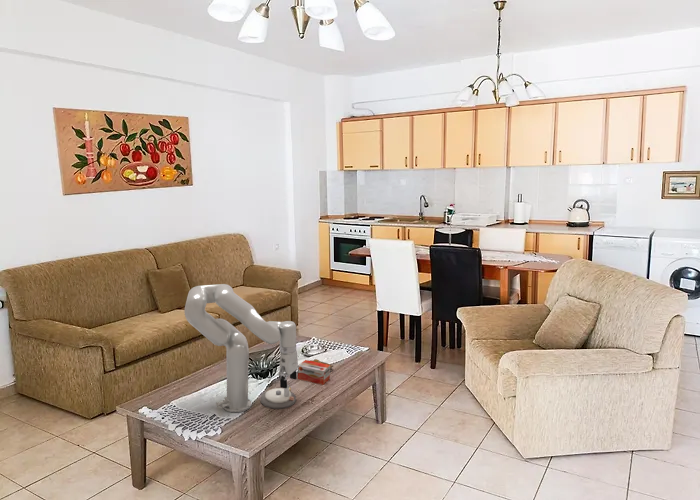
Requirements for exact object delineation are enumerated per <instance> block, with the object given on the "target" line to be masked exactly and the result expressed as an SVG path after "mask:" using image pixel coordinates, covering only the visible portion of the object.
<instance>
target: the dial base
mask: <svg viewBox="0 0 700 500" xmlns="http://www.w3.org/2000/svg"><path fill="white" fill-rule="evenodd" d="M289 391H290V392H291V396H292V397H294V400H293V401H292V400H289V401H287V402H284V403H272V402H269V401H267V400H266V398H265V394H266V392H267V391H266V392H263V393H262V395H261V396H260V404H261V405H262V406H263V407H265V408H268V409H273V410H281V409H282V410H283V409H288V408H289V407H292V406H294V405H295V404H296V401H297V396H296V394H295V393H294V392H292V387H290V386H289Z"/></svg>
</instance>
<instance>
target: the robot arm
mask: <svg viewBox="0 0 700 500" xmlns="http://www.w3.org/2000/svg"><path fill="white" fill-rule="evenodd" d="M214 303H215V304H216V305H217V306H218V307H219V308H221V309H222V310H223V311H225V312H226V313H228V314H229V315H231V316H232V317H234V318H235V319H236V320H238V321H239V322H240V323H241V324H242V325H243V326H244V327H245V328H246V329H248V331H249V332H250V333H252V334H253V335H255V336H256V337H257V338H258V339H260V340H261V341H262V342H265V343H266V344H268V345H275V344H277V343H278V342H279V353H280V355H279V371H278V379H279V381H280V382H279V386H280V387H279V388H283V389H284V388H287V385H288V379H287V377H288V376H289V379H290V380H298V377H297V371H298V365H299V361H298V351H297V325H296V323H295V322H294V321H291V320H286V321H276V320H275V321H273V320H269V321H266V320H265V319H264V318H262V316H261V315H260V314H259V313H258V312H257V310H256V309H255V307H254V306H253V304H251V303H249V302H247V301H246V300H245V299H244V298H242V297H241V296H239V295H238V294H237V293H235V291H234V289H233V287H232V286H231V285H229V284H227V283H221V284H219V283H218V284H204V285H203V284H202V285H196V286H194V287H191V289H190V290H189V291H188V294H187V297H186V301H185V304H184V312H183V313H184V317H185V319H186V321H187V322H188V323H189V325H191V326H192V327H193V328H195V330H197V331H198V332H199V333H200V334H201V335H203V336H204V337H205V338H206V339H207V340H208V341H209V342H211V343H212V344H213V345H214V346H218V347H222V346H224V347H225V349H226V355H225V356H226V396H225V397H224V399H222V401H218V402H216V403H215V404H216V407H221V408H222V409H224V410H225V411H227V412H229V413H243V412H246V411H249V410H250V408H251V407H252V405H253V404H252V401H251V399H249V360H250V359H249V357H250V351H249V344H248V339H247V337H246V336H245V335H244V333H242V332H241V331H240V330H238V329H237V328H236V327H235V326H234V325H233V324H231V322H229V321H228V320H226V319H224V318H215V317H214V316H213V315H211V313H208V312H207V310H206V307H207V304H214Z"/></svg>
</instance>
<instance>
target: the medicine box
mask: <svg viewBox="0 0 700 500" xmlns="http://www.w3.org/2000/svg"><path fill="white" fill-rule="evenodd" d="M330 365H331V364H330ZM330 365H327V364H323V363H318V362H313V361H310V360H309V359H307V360H306V359H305V360H303V361H302V362H300V363H298V368H297V371H296V372H297V380H299V381H304V382H309V383H313V384H317V385H320V386H324V385H325V384H326V383H327V382H328V381H330V378H331V370H330Z"/></svg>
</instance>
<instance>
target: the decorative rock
mask: <svg viewBox="0 0 700 500" xmlns="http://www.w3.org/2000/svg"><path fill="white" fill-rule="evenodd" d="M309 361H313V362H318V363H323V364H327V365H330V371H332V369H333V367H334V365H332V364H331V363H327V362H323V361H321V360H320V359H318V358H317V359H316V358H315V359H311V360H309Z"/></svg>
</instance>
